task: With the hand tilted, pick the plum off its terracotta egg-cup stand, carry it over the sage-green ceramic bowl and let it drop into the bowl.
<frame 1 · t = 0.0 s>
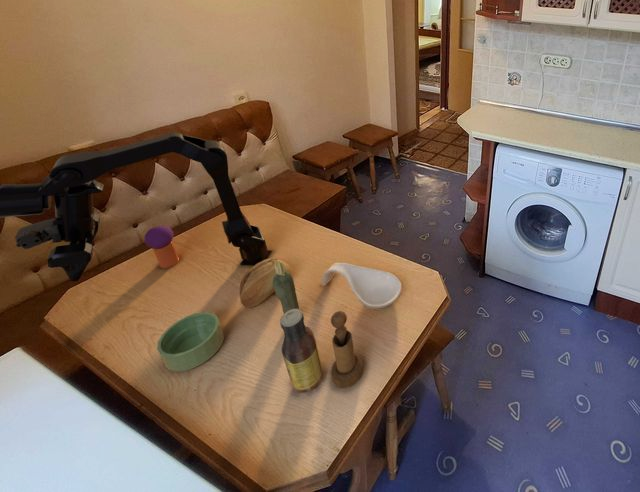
hand: (78, 269, 84), 15 cm above the table, tool pointing down, fingers open, 9 cm apart
bread roll: (267, 290, 99), on the table
stand: (169, 262, 108), on the table
bowl: (195, 349, 83), on the table
mortar and pestle: (348, 373, 78), on the table
sauce bottle: (308, 381, 77), on the table
vegetable: (293, 323, 90), on the table
plum: (159, 236, 104), point 10 cm above the table, touching stand
spoon rest: (361, 293, 99), on the table
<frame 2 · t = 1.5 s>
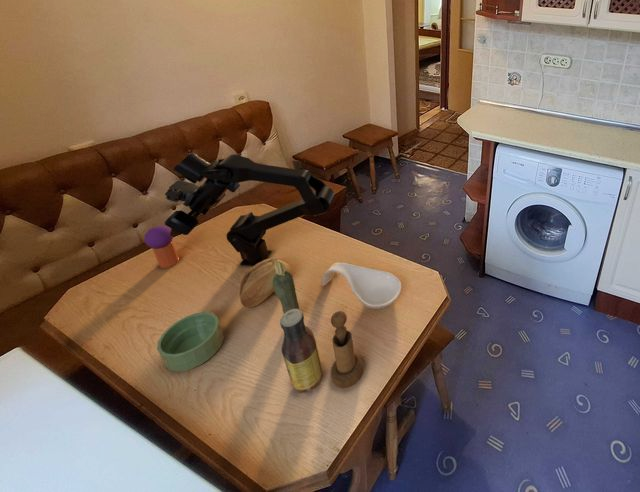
hand: (182, 225, 103), 13 cm above the table, tool tilted 45°, fingers open, 9 cm apart
nothing on the table moved.
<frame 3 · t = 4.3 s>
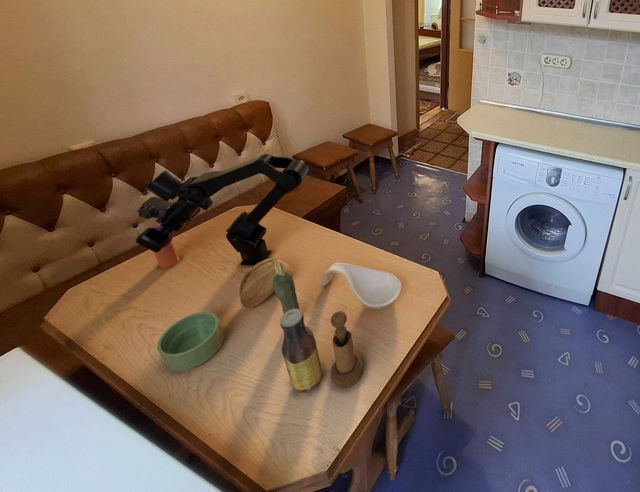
hand: (155, 240, 104), 8 cm above the table, tool tilted 45°, fingers closed on plum, 6 cm apart
plum: (159, 236, 104), point 10 cm above the table, touching gripper, stand
everything else where it was.
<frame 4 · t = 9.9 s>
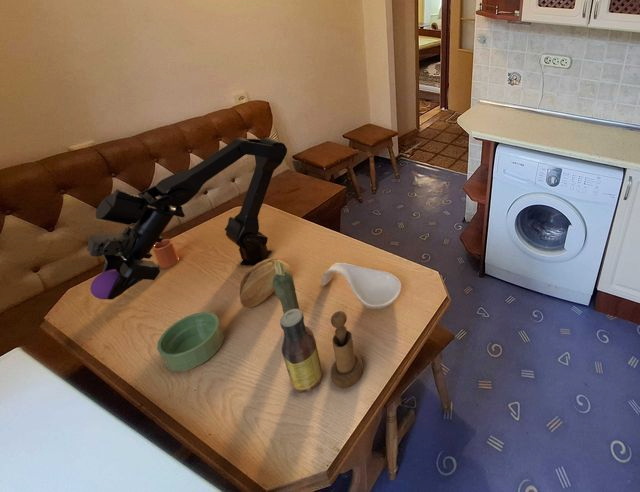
hand: (105, 292, 81), 13 cm above the table, tool tilted 45°, fingers closed on plum, 6 cm apart
plum: (110, 284, 81), point 14 cm above the table, touching gripper
everything else where it was.
when the fingers open (5 cm above the table, at t = 15.3 s): plum drops 3 cm, resting on bowl.
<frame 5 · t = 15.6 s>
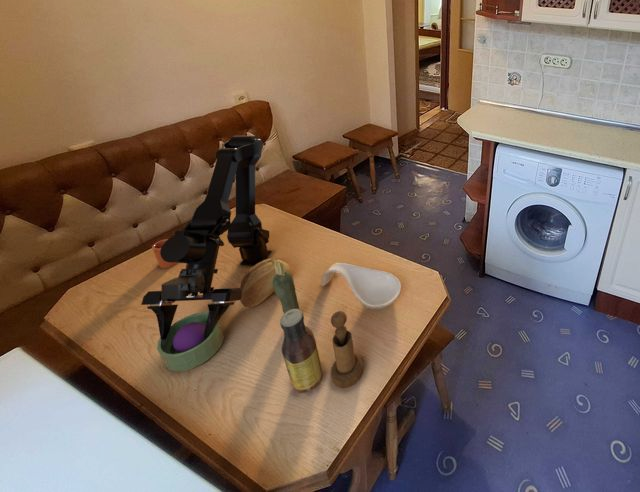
hand: (184, 338, 79), 6 cm above the table, tool tilted 45°, fingers open, 9 cm apart
plum: (191, 337, 81), point 4 cm above the table, touching bowl
everything else where it was.
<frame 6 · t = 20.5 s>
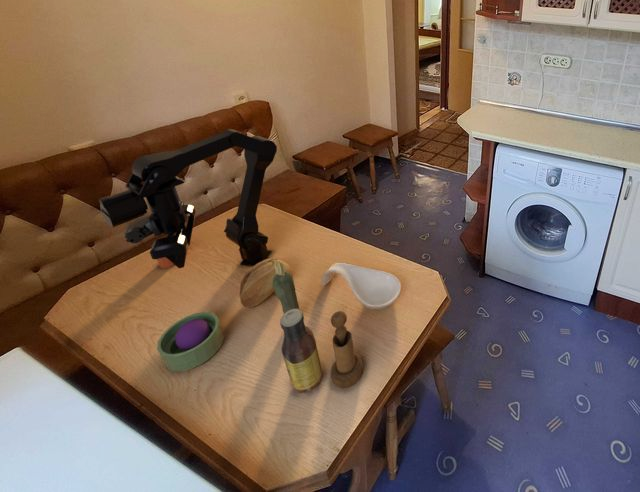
hand: (184, 256, 92), 13 cm above the table, tool pointing down, fingers open, 9 cm apart
plum: (193, 334, 82), point 4 cm above the table, tilted 16°, touching bowl
everything else where it was.
at the end: plum inside the target area in the bowl (0.9 cm from its centre), point 3.8 cm above the bowl's base; the gripper is holding nothing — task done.
